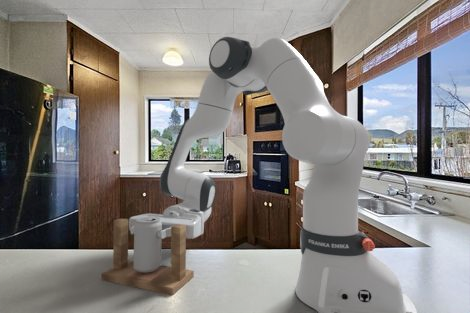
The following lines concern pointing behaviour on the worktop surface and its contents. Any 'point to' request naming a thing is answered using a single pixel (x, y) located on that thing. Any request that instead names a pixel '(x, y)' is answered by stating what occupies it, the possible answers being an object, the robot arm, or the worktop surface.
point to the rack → (157, 280)
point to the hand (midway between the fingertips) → (145, 233)
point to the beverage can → (147, 244)
